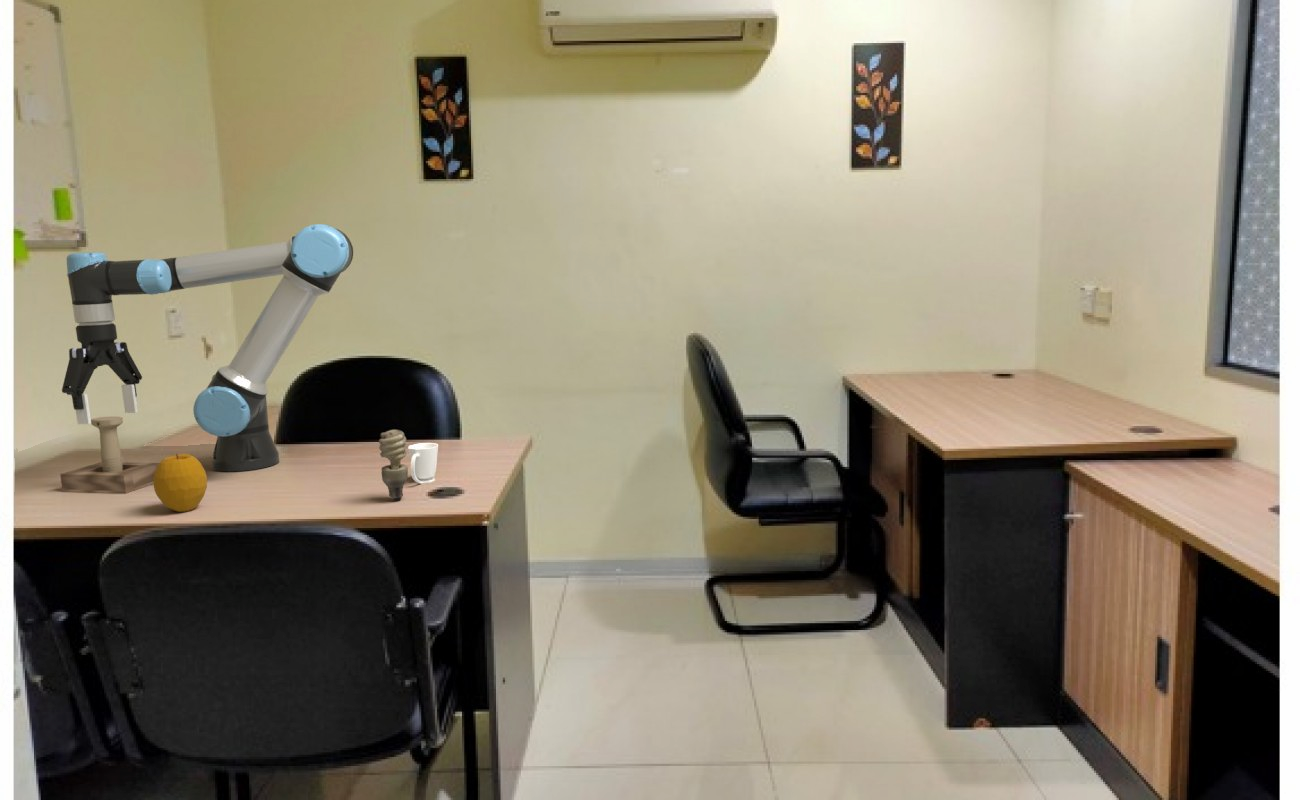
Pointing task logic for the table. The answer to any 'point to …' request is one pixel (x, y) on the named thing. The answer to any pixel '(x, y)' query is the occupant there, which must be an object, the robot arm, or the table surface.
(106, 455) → the handle
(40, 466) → the table surface
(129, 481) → the slot block
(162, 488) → the apple
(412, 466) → the cup
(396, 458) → the light bulb
